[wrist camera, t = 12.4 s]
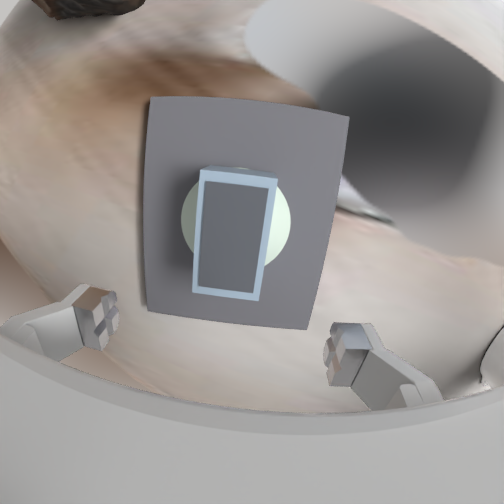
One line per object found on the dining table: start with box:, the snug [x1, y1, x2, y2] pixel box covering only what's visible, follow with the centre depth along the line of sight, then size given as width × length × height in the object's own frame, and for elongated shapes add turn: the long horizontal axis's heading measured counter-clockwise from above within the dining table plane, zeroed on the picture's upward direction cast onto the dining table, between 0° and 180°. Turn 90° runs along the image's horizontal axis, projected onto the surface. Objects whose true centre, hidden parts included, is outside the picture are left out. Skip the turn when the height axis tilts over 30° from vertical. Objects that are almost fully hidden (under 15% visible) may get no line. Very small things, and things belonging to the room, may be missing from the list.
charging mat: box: [143, 96, 349, 330], centre depth 23 cm, size 16×20×1 cm
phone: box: [192, 165, 278, 301], centre depth 21 cm, size 5×9×4 cm, turn 173°
